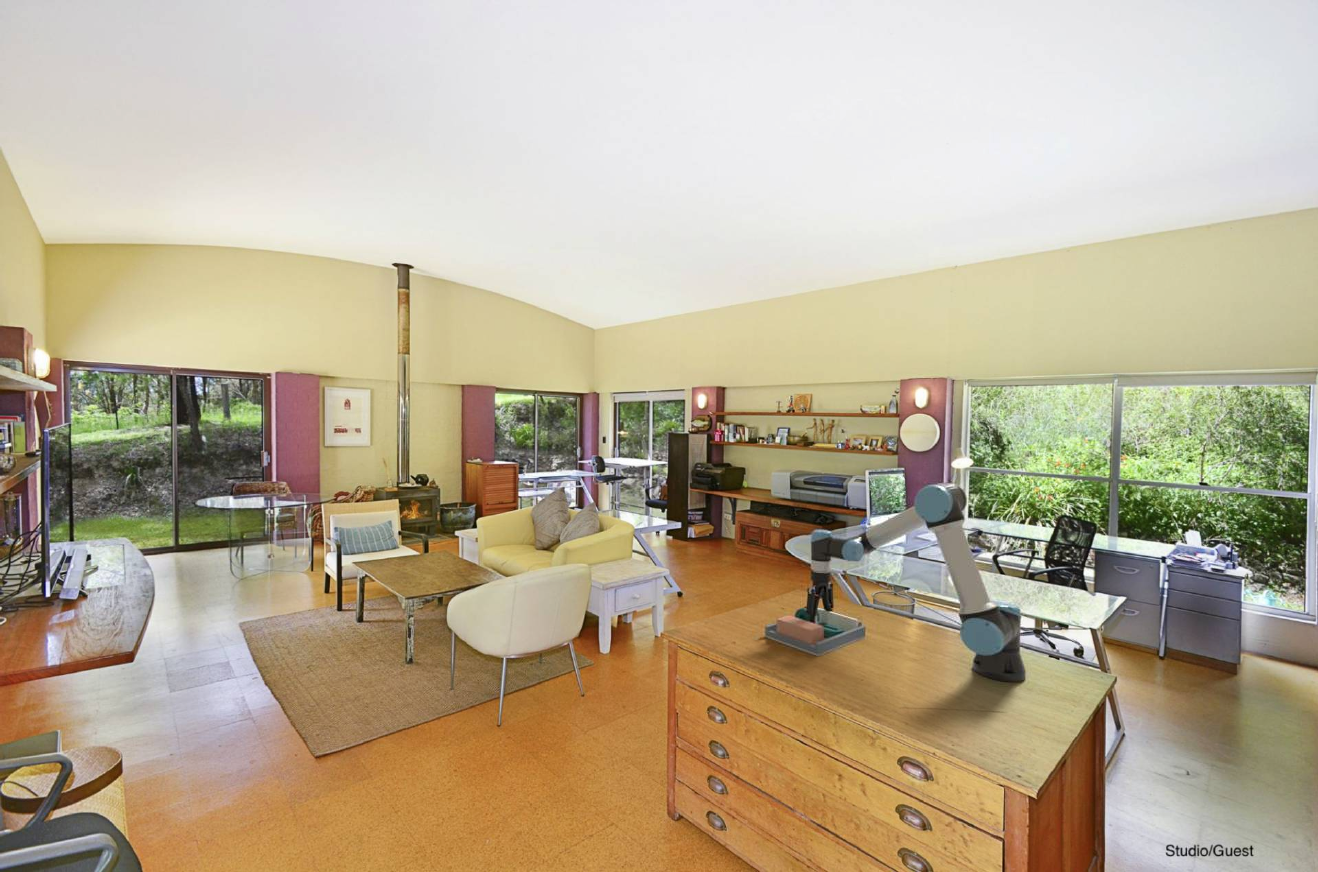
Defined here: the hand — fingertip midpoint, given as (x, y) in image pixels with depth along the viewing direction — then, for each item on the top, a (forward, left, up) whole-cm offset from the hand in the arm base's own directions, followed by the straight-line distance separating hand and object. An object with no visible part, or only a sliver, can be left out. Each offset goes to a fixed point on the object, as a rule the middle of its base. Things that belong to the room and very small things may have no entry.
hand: (819, 629), depth 227 cm
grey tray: (+3, 0, -2) cm, 4 cm away
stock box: (+13, 0, -2) cm, 13 cm away
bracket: (0, 0, -1) cm, 1 cm away
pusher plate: (-10, 0, -1) cm, 10 cm away
